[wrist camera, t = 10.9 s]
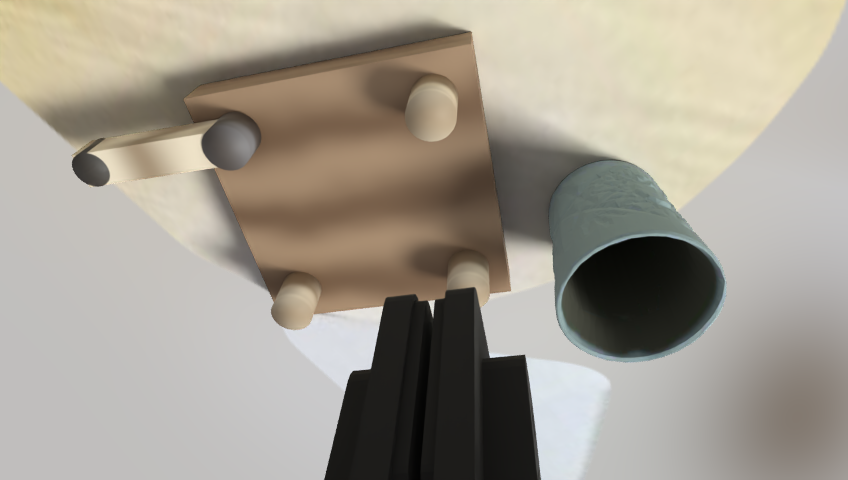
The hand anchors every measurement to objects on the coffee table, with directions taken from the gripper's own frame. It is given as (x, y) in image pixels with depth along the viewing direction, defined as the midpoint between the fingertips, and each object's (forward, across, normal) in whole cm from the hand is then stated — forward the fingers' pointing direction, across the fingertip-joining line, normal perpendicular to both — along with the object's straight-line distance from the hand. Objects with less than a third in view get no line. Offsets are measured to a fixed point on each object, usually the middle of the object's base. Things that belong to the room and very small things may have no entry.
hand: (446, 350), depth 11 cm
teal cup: (+32, -8, +17) cm, 37 cm away
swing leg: (+29, +22, +5) cm, 37 cm away
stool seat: (+32, +10, +12) cm, 36 cm away
